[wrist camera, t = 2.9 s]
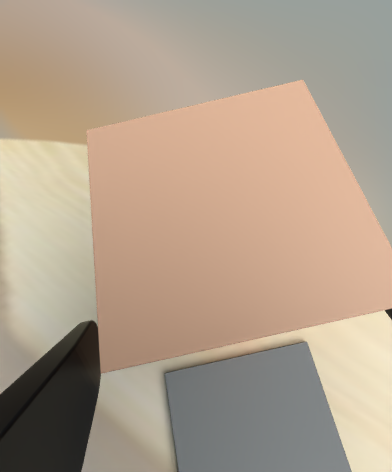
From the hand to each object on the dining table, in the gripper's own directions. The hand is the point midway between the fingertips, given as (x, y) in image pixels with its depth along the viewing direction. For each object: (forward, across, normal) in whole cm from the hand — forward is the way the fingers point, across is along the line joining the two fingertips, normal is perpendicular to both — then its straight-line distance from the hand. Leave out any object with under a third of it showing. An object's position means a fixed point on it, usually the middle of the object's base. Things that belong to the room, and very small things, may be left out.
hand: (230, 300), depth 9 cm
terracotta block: (+8, 0, +6) cm, 10 cm away
